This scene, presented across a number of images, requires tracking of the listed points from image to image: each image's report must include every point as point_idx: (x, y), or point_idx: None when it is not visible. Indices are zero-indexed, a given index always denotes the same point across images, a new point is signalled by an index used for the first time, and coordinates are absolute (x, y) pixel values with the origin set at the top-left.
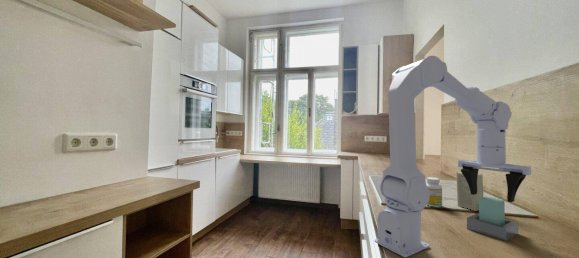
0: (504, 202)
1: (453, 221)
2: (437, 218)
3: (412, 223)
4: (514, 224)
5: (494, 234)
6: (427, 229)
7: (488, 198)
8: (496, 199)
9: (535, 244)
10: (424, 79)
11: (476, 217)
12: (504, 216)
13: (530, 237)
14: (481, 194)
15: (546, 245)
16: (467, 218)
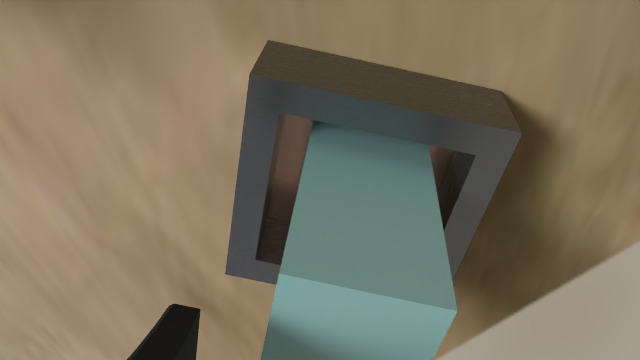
0: (453, 290)
1: (138, 149)
2: (51, 166)
3: None
4: (490, 197)
5: None
6: (126, 346)
7: (320, 338)
8: (387, 330)
9: (561, 206)
10: None
11: (263, 213)
12: (436, 201)
13: (564, 103)
14: None
15: (617, 181)
16: (229, 270)
